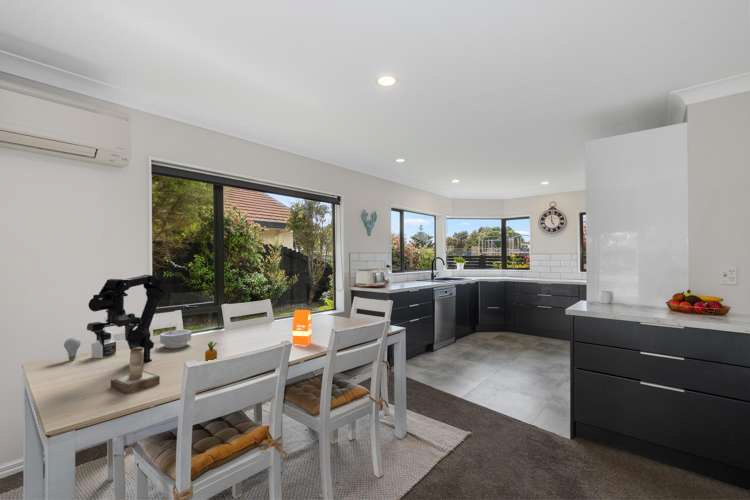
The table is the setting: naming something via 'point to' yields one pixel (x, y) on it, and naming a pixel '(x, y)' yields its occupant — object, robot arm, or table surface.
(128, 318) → the robot arm
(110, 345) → the medicine bottle
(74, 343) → the lightbulb
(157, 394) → the table surface
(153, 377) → the square tray
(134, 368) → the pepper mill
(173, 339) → the paper bowls
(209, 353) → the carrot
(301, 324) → the orange juice
